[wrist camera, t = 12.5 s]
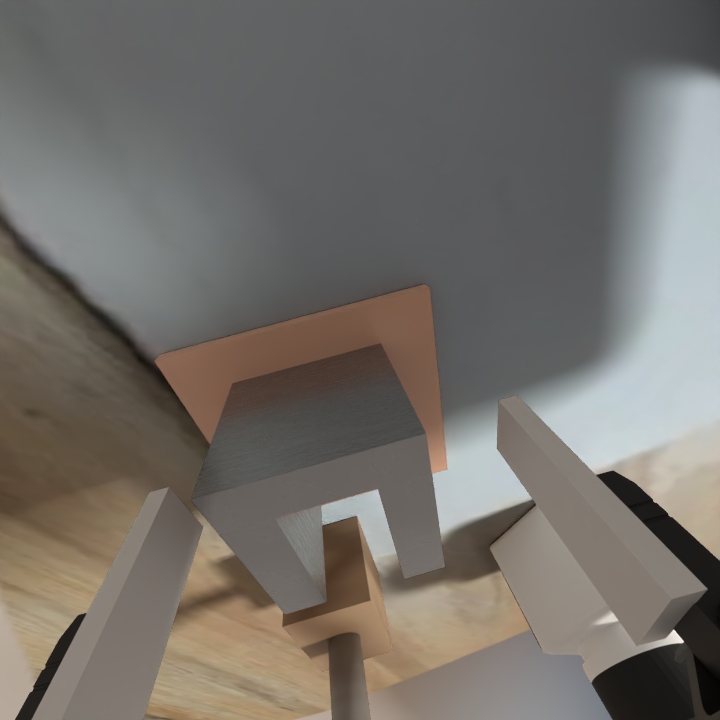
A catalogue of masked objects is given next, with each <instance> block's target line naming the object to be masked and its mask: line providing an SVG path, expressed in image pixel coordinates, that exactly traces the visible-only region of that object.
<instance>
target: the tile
mask: <svg viewBox="0 0 720 720" xmlns="http://www.w3.org/2000/svg"><path fill="white" fill-rule="evenodd" d="M379 343H381V344H382V346H383V348H384V350H385V352H386V354H387V356H388V358H389V360H390V362H391V364H392V366H393V368H394V370H395V372H396V374H397V376H398V378H399V380H400V382H401V384H402V386H403V388H404V390H405V392H406V394H407V396H408V398H409V400H410V402H411V404H412V406H413V408H414V410H415V412H416V414H417V416H418V418H419V420H420V422H421V424H422V426H423V428H424V430H425V432H426V435H427V442H428V449H429V456H430V463H431V471H432V474H433V473H436V472H440V471H443V470H447V459H446V448H445V438H444V428H443V418H442V407H441V397H440V387H439V376H438V366H437V356H436V345H435V335H434V325H433V315H432V304H431V294H430V287H428V286H427V285H426V284H423V285H419V286H415V287H412V288H408V289H404V290H400V291H397V292H393V293H389V294H385V295H382V296H378V297H374V298H370V299H367V300H363V301H359V302H355V303H352V304H348V305H344V306H340V307H336V308H333V309H329V310H325V311H321V312H318V313H314V314H310V315H306V316H303V317H299V318H295V319H291V320H288V321H284V322H280V323H276V324H273V325H269V326H265V327H261V328H258V329H254V330H250V331H246V332H243V333H239V334H235V335H231V336H228V337H224V338H220V339H216V340H212V341H209V342H205V343H201V344H197V345H194V346H190V347H186V348H182V349H179V350H175V351H171V352H167V353H164V354H160V355H159V356H158V358H157V359H156V360H155V363H156V364H157V366H158V367H159V369H160V370H161V372H162V373H163V375H164V376H165V378H166V379H167V381H168V382H169V384H170V385H171V387H172V388H173V390H174V391H175V393H176V394H177V396H178V397H179V399H180V400H181V402H182V403H183V405H184V406H185V408H186V409H187V411H188V412H189V414H190V415H191V417H192V418H193V420H194V421H195V423H196V424H197V426H198V427H199V429H200V430H201V432H202V433H203V435H204V436H205V438H206V439H207V441H208V442H209V444H211V441H212V439H213V436H214V433H215V430H216V427H217V425H218V422H219V419H220V416H221V413H222V411H223V408H224V405H225V402H226V399H227V397H228V394H229V391H230V388H231V385H232V383H236V382H239V381H243V380H247V379H250V378H254V377H258V376H261V375H265V374H269V373H272V372H276V371H280V370H283V369H287V368H291V367H294V366H298V365H302V364H306V363H309V362H313V361H317V360H320V359H324V358H328V357H331V356H335V355H339V354H342V353H346V352H350V351H353V350H357V349H361V348H364V347H368V346H372V345H376V344H379ZM375 490H377V489H375ZM372 491H373V490H372ZM368 492H370V491H368ZM365 493H366V492H365ZM361 494H363V493H361ZM358 495H360V494H358ZM354 496H356V495H354ZM351 497H353V496H351ZM347 498H349V497H347ZM344 499H346V498H344ZM340 500H342V499H340ZM337 501H339V500H337ZM333 502H335V501H333ZM330 503H332V502H330ZM326 504H328V503H326ZM323 505H325V504H323Z"/></svg>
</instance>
